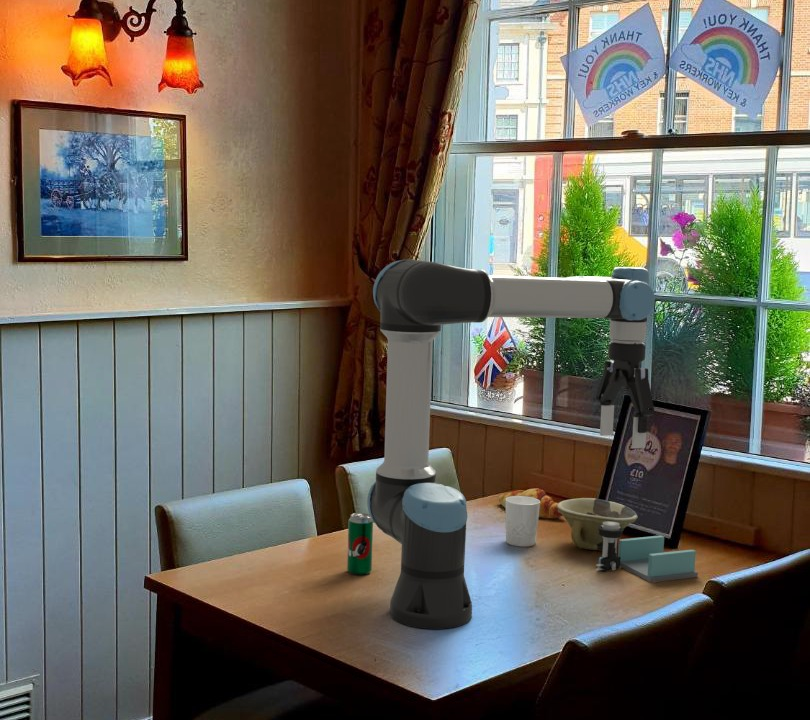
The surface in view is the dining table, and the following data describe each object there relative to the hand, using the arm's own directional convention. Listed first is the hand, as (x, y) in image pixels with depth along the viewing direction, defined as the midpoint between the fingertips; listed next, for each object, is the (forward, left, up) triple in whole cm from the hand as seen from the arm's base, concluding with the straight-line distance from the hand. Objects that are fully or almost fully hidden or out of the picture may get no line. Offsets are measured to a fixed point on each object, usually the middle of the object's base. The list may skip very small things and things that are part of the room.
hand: (621, 441), depth 224 cm
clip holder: (+8, -4, -28) cm, 29 cm away
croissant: (+6, +46, -28) cm, 54 cm away
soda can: (-53, +14, -28) cm, 62 cm away
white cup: (-10, +23, -28) cm, 37 cm away
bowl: (+5, +15, -28) cm, 32 cm away
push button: (-2, 0, -28) cm, 28 cm away
